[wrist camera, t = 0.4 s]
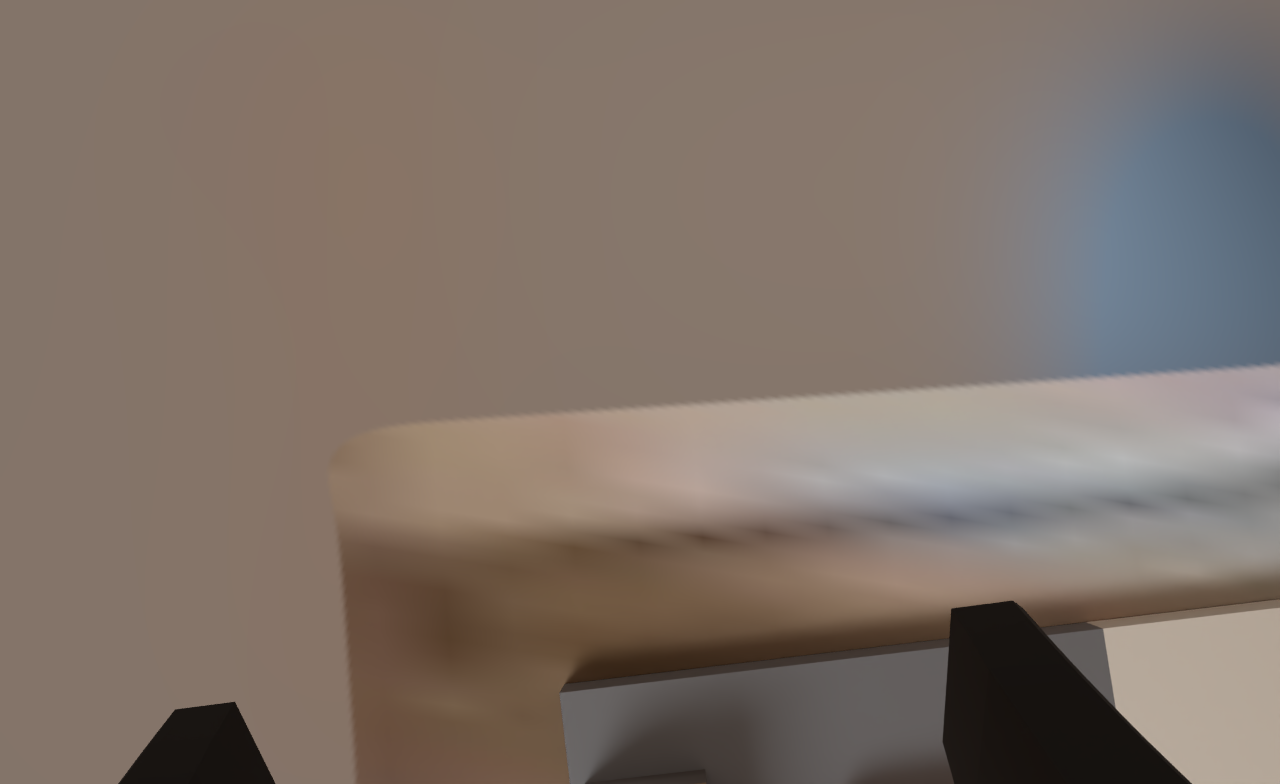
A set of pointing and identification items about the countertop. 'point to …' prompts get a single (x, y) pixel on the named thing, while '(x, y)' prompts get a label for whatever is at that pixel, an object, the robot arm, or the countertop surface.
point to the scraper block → (663, 779)
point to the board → (934, 706)
